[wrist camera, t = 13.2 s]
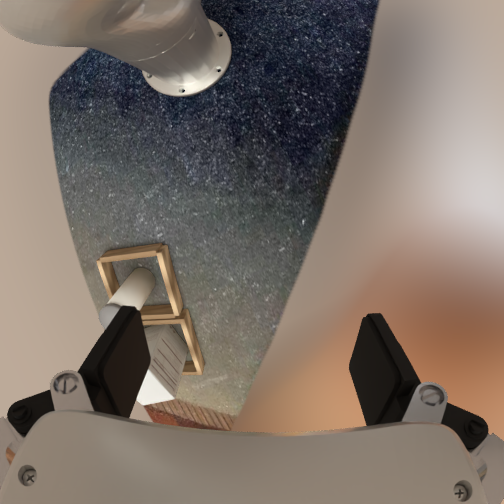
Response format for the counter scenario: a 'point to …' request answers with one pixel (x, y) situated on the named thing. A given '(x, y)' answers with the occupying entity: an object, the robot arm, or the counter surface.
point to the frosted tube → (129, 294)
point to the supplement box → (163, 364)
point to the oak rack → (157, 312)
